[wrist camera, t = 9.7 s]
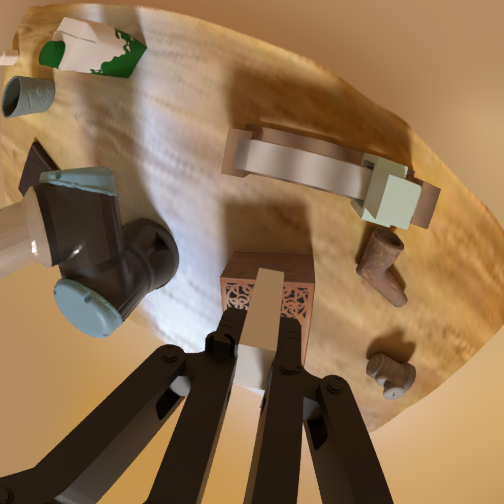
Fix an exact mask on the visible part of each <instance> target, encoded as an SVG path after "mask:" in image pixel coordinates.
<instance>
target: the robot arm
mask: <svg viewBox="0 0 504 504" xmlns="http://www.w3.org/2000/svg"><path fill="white" fill-rule="evenodd" d="M39 181H40V182H41V183H40V184H38V185H34V186H31V187H29V189H28V191H27V192H26V194H25V196H24V198H23V199H22V201H20V202H18V203H15V204H12V205H10V206H7V207H4V208H2V209H0V278H1V277H4V276H6V275H8V274H10V273H12V272H14V271H16V270H19V269H21V268H23V267H25V266H27V265H30V264H32V263H34V262H39V263H41V264H43V265H44V266H46V267H53V266H55V265H57V264H58V266H59V269H60V273H61V276H62V279H59V280H58V281H57V283H56V285H55V287H54V297H55V301H56V303H57V305H58V307H59V309H60V310H61V312H62V313H63V315H64V316H65V317H66V318H67V319H68V321H69V322H70V323H72V324H73V325H74V326H75V327H76V328H77V329H79V330H80V331H82V332H83V333H85V334H87V335H89V336H92V337H96V338H105V337H108V336H109V335H111V334H112V333H113V332H114V331H115V330H116V329H117V328H118V327H120V326H121V325H122V323H123V322H124V321H125V319H126V318H127V317H128V316H129V315H130V313H131V312H132V311H133V310H134V308H135V307H136V306H137V305H138V304H139V302H140V301H141V300H142V299H143V298H144V297H145V295H146V294H147V293H149V292H151V291H153V290H154V289H159V288H161V287H163V286H165V285H166V284H167V283H168V282H169V281H170V280H171V279H172V278H173V277H174V275H175V274H176V272H177V269H178V265H179V254H178V250H177V247H176V244H175V242H174V240H173V238H172V237H171V235H170V234H169V233H168V232H167V231H166V230H165V229H164V228H163V227H162V226H161V225H159V224H158V223H156V222H154V221H152V220H149V219H144V218H138V219H134V220H131V221H129V222H128V223H126V224H125V225H123V226H122V224H121V217H120V210H119V202H118V197H119V194H118V193H117V189H116V183H115V176H114V173H113V171H112V170H111V169H109V168H108V167H87V168H76V169H65V170H56V171H49V172H43V173H41V175H40V179H39ZM283 281H284V272H280V271H275V270H269V269H264V268H259V271H258V275H257V278H256V282H255V286H254V290H253V293H252V297H251V301H250V304H249V308H248V310H243V309H239V308H234V307H229V308H228V309H227V310H225V311H224V312H223V315H222V317H221V320H220V323H219V325H218V328H217V330H216V331H214V332H212V333H210V334H208V335H207V337H206V340H205V351H203V352H199V353H185V352H184V351H183V349H181V348H180V347H179V346H176V345H172V344H166V345H163V346H160V347H159V348H157V349H156V350H155V351H154V352H153V353H152V354H151V355H150V356H149V357H148V358H147V359H146V360H145V361H144V362H143V363H142V364H141V365H140V366H139V367H138V368H137V369H136V370H135V371H134V372H132V373H131V374H130V375H129V376H128V377H127V378H126V379H125V380H124V381H123V382H122V383H121V384H120V385H119V386H118V387H117V388H116V389H115V390H114V391H113V392H112V393H111V394H110V395H109V396H108V397H107V398H106V399H105V400H103V402H102V403H100V404H99V406H97V407H96V408H95V409H94V410H93V411H92V412H91V413H90V414H89V415H88V416H87V417H86V418H85V419H84V420H83V421H82V422H81V423H80V424H79V425H78V426H77V427H76V428H75V429H73V430H72V431H71V432H70V433H69V434H68V435H67V436H66V437H65V438H64V439H63V440H62V441H61V442H60V443H59V444H58V445H57V446H56V447H55V448H54V449H53V450H52V451H51V452H49V453H48V454H47V455H46V456H45V457H44V458H43V459H42V460H41V461H40V462H39V463H38V464H37V465H36V466H35V467H34V468H31V469H28V470H25V471H22V472H19V473H15V474H12V475H8V476H5V477H1V478H0V504H96V503H97V502H98V501H99V500H100V499H101V498H102V496H103V495H104V494H105V493H106V492H107V491H108V490H109V489H110V487H111V486H112V485H113V484H114V483H115V482H116V481H117V480H118V478H119V477H120V476H121V475H122V474H123V473H124V471H125V470H126V469H127V468H128V467H129V466H130V464H131V463H132V462H133V461H134V460H135V459H136V457H137V456H138V455H139V454H140V453H141V451H142V450H143V449H144V448H145V447H146V445H147V444H148V443H149V442H150V441H151V439H152V438H153V437H154V436H155V435H156V433H157V432H158V431H159V430H160V428H161V427H162V426H163V425H164V423H165V422H166V421H167V420H168V418H169V417H170V416H171V415H172V413H173V412H174V411H175V409H176V408H177V407H178V406H179V405H180V403H181V402H182V401H183V399H184V398H185V397H186V396H187V399H186V401H185V404H184V406H183V409H182V411H181V414H180V416H179V419H178V422H177V424H176V427H175V429H174V432H173V434H172V437H171V440H170V442H169V445H168V447H167V450H166V452H165V455H164V458H163V460H162V463H161V466H160V468H159V471H158V473H157V476H156V478H155V481H154V484H153V486H152V489H151V491H150V494H149V496H148V498H147V500H146V501H145V502H144V503H143V504H201V502H202V498H203V494H204V491H205V487H206V484H207V480H208V477H209V473H210V469H211V466H212V462H213V458H214V455H215V451H216V447H217V444H218V439H219V436H220V432H221V428H222V425H223V421H224V417H225V414H226V410H227V406H228V402H229V398H230V394H231V388H232V384H236V385H241V386H246V387H251V388H256V389H262V390H265V393H264V396H263V399H262V403H261V406H260V408H261V412H260V417H259V423H258V429H257V435H256V441H255V446H254V451H253V457H252V462H251V468H250V472H249V478H248V483H247V488H246V493H245V497H244V502H243V504H297V494H298V484H299V473H300V460H301V445H302V426H303V424H304V428H305V432H306V436H307V440H308V445H309V449H310V453H311V457H312V461H313V465H314V469H315V474H316V478H317V482H318V486H319V490H320V495H321V499H322V503H323V504H394V503H393V500H392V497H391V494H390V492H389V488H388V485H387V483H386V480H385V477H384V474H383V471H382V468H381V466H380V463H379V460H378V458H377V455H376V452H375V450H374V447H373V444H372V442H371V439H370V436H369V434H368V431H367V429H366V426H365V423H364V421H363V418H362V416H361V413H360V411H359V408H358V406H357V403H356V401H355V398H354V396H353V394H352V391H351V389H350V386H349V384H348V383H347V381H346V380H344V379H343V378H342V377H339V376H337V375H328V376H325V377H324V378H323V379H321V378H318V377H316V376H313V375H311V374H309V373H308V372H307V371H306V370H305V369H304V368H303V365H302V362H301V339H302V335H301V333H302V326H301V324H300V322H299V321H298V319H295V318H289V317H283V316H280V312H281V302H282V292H283Z"/></svg>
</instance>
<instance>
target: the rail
mask: <svg viewBox="0 0 504 504" xmlns="http://www.w3.org/2000/svg"><path fill="white" fill-rule="evenodd" d="M363 155H364V153H363V152H360V151H357V150H354V149H351V148H347V147H344V146H340V145H337V144H333V143H330V142H326V141H323V140H319V139H315V138H311V137H307V136H303V135H299V134H294V133H290V132H285V131H281V130H276V129H271V128H266V127H260V126H255V125H249V124H246V128H245V130H242V129H234V128H229V131H228V136H227V142H226V148H225V153H224V159H223V165H222V171H221V173H222V174H227V175H232V176H237V177H242V178H244V177H246V176H247V175H248V174H255V175H259V176H264V177H269V178H273V179H277V180H282V181H286V182H290V183H294V184H298V185H302V186H306V187H310V188H314V189H318V190H322V191H325V192H329V193H333V194H336V195H340V196H343V197H347V198H350V199H352V197H354V198H358V199H361V200H363V201H364V202H365V198H366V195H367V191H368V188H369V184H370V181H371V177H372V173H373V170H374V168H373V167H370V166H367V168H366V167H363V166H361V163H362V159H363ZM414 174H415V171H413V170H410V169H408V170H407V174H406V177H405V179H407V180H409V181H411V182H413V183H415V184H417V185H419V186H421V190H420V193H419V197H418V200H417V203H416V206H415V209H414V212H413V215H412V218H411V221H410V223H411V224H414V225H417V226H419V227H422V228H425V229H428V227H429V224H430V221H431V218H432V215H433V212H434V209H435V206H436V203H437V200H438V197H439V194H440V190H441V189H440V188H437V187H435V186H433V185H431V184H429V183H426V182H424V181H422V180H420V179H417V178H415V177H414Z"/></svg>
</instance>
